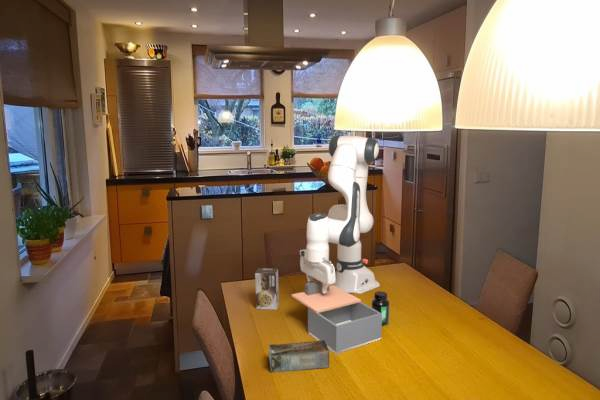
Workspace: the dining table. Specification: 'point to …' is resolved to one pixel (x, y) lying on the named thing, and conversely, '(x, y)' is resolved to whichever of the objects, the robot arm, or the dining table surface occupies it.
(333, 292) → the cover
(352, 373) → the dining table surface
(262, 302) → the coffee box
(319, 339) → the storage box
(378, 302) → the supplement bottle
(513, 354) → the dining table surface
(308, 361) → the beverage carton
